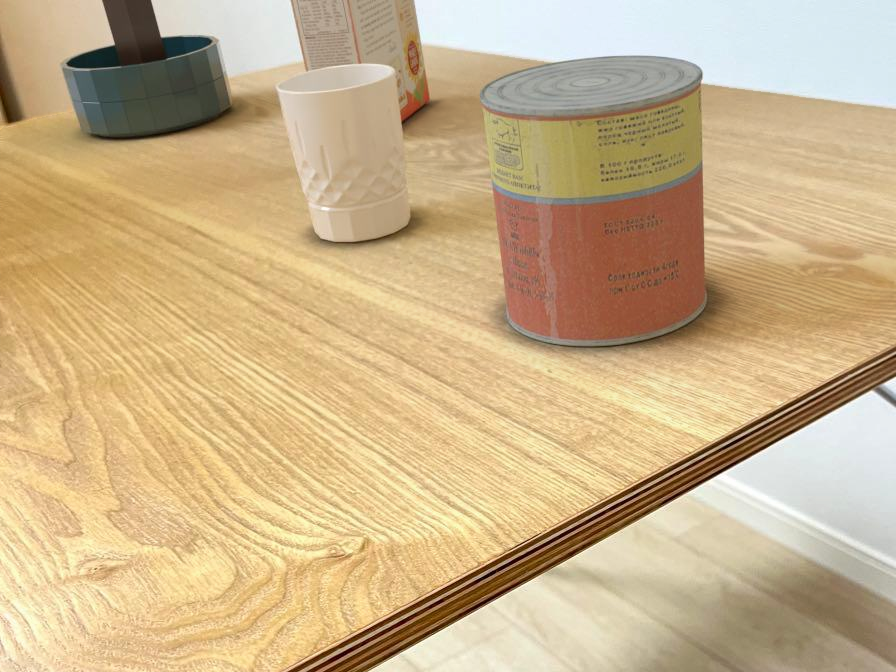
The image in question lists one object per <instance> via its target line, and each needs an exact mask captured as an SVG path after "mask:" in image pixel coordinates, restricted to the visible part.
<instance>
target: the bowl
mask: <svg viewBox="0 0 896 672" xmlns="http://www.w3.org/2000/svg"><path fill="white" fill-rule="evenodd" d="M161 39H162V43H163V46H164V50H165V54H166V57H167V59H164V60H159V61H153V62H148V63H142V64H135V65H128V66H121V64H120V61H119V57H118V54H117V50H116V47H115V43H113V44H110V45H105V46H102V47H101V46H100V47H97V48H93V49H89V50H86V51H84V52H80V53H77V54H74V55H72V56H69V57H67V58H66V59H63V61H61V62H60V63H59V66H60V70H61V73H62V77H63V80H64V83H65V86H66V89H67V92H68V95H69V98H70V102H71V105H72V108H73V112H74V116H75V118H76V122H77V124H78V127H79V129H80V130H81V131H82V132H84V133H88V134H93V135H96V136H98V137H102V138H103V137H104V138H113V139H115V138H116V139H117V138H125V139H126V138H139V137H147V136H152V135H153V136H155V135H160V134H165V133H170V132H171V133H172V132H176V131H180V130H184V129H188V128H191V127H194V126H198V125H202V124H204V123H206V122H209V121H211V120H213V119H216V118H217V117H218V116H220V115H222V113H224V111H225V110H227V109H229V108H230V107H231V106H232V105H233V103H234V98H233V93H232V90H231V89H232V88H231V85H230V81H229V76H228V73H227V68H226V63H225V60H224V56H223V50H222V47H221V43H220V39H219V38H217V37H215V36H212V35H205V34H179V35H167V36H161Z"/></svg>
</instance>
